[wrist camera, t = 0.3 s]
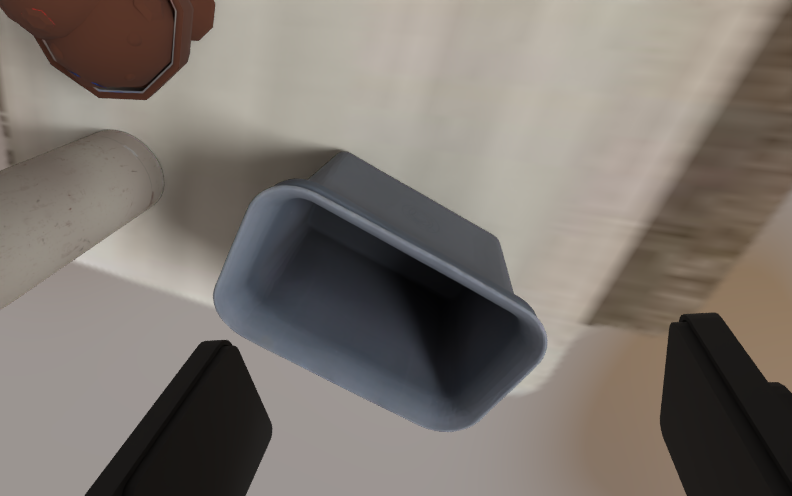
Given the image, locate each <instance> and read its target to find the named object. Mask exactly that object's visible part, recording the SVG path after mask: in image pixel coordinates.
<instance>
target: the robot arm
mask: <svg viewBox="0 0 792 496" xmlns="http://www.w3.org/2000/svg"><path fill="white" fill-rule="evenodd" d="M660 426H661V431H662V435H663V438H664V441H665V443H666V446H667V448H668V450H669V453H670V455H671V458H672V460H673V463H674V465H675V468H676V470H677V472H678V475H679V478H680V480H681V482H682V485H683V487H684V490H685V492H686V494H687V496H792V393H791V392H790V391H789V390H788V389H787V388H786V387H785V386H784V385H782V384H780V383H778V382H768V381H767V380H766V379H765V377H764V376H763V375H762V373H761V372H760V370H759V369H758V368H757V366H756V365H755V363H754V362H753V361H752V359H751V358H750V356H749V355H748V354H747V352H746V351H745V350H744V348H743V347H742V345H741V344H740V343H739V342H738V340H737V339H736V337H735V336H734V334H733V333H732V331H731V330H730V329H729V327H728V326H727V325H726V323H725V322H724V320H723V319H722V318H721V317H720V316H719V314H717V313H697V314H683V315H681V317H680V319H679V322H673V323H671V324H670V327H669V336H668V345H667V355H666V365H665V375H664V385H663V395H662V403H661V414H660ZM271 436H272V424H271V421H270V419H269V417H268V414H267V412H266V410H265V408H264V405H263V403H262V401H261V399H260V396H259V394H258V392H257V390H256V388H255V385H254V383H253V381H252V379H251V376H250V374H249V372H248V370H247V367H246V366H245V363H244V361H243V359H242V356H241V354H240V352H239V350H238V348H237V347H236V346H233V345H232V344H231V343H230V342H229V341H228V340H214V341H204V342H201V343H200V344H199V345H198V347H197V348H196V349H195V351H194V352H193V353H192V355H191V356H190V357H189V358H188V360H187V361H186V363H185V364H184V365H183V367H182V368H181V369H180V370H179V372H178V373H177V374H176V376H175V377H174V378H173V380H172V381H171V382H170V384H169V385H168V386H167V388H166V389H165V390H164V392H163V393H162V394H161V395H160V397H159V398H158V399H157V401H156V402H155V403H154V405H153V406H152V407H151V409H150V410H149V411H148V413H147V414H146V415H145V416H144V418H143V419H142V421H141V422H140V423H139V424H138V426H137V427H136V428H135V430H134V431H133V432H132V434H131V435H130V436H129V438H128V439H127V440H126V442H125V443H124V444H123V445H122V447H121V448H120V449H119V451H118V452H117V453H116V455H115V456H114V457H113V459H112V460H111V461H110V463H109V464H108V465H107V467H106V468H105V469H104V471H103V472H102V473H101V474H100V476H99V477H98V478H97V480H96V481H95V482H94V484H93V485H92V486H91V488H90V489H89V490H88V492H87V493H86V494H85V496H245V495H246V493H247V491H248V489H249V487H250V484H251V482H252V480H253V478H254V475H255V473H256V471H257V469H258V467H259V464H260V462H261V460H262V457H263V455H264V453H265V451H266V449H267V446H268V444H269V442H270V440H271Z"/></svg>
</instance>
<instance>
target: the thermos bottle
mask: <svg viewBox="0 0 792 496" xmlns="http://www.w3.org/2000/svg"><path fill="white" fill-rule="evenodd" d="M163 189H164V176H163V172H162V169H161V167H160V164H159V162H158V160H157V159H156V157H155V156H154V154H153V153H152V152H151V151H150V150H149V148H148V147H147V146H146V145H145V144H143V143H142V142H141V141H140V140H138V139H137V138H135V137H133V136H132V135H129V134H127V133H125V132H121V131H116V130H105V131H100V132H97V133H95V134H92V135H90V136H87V137H85V138H82V139H80V140H77V141H75V142H72V143H69V144H67V145H64V146H62V147H59V148H57V149H54V150H52V151H49V152H47V153H44V154H42V155H39V156H37V157H34V158H32V159H29V160H27V161H24V162H21V163H19V164H16V165H14V166H11V167H9V168H6V169H4V170H1V171H0V310H1V309H3V308H4V307H6V306H7V305H9V304H10V303H11V302H13V301H15V300H16V299H18V298H19V297H21V296H22V295H24V294H25V293H27V292H28V291H29V290H31V289H32V288H34V287H35V286H37V285H38V284H40V283H41V282H43V281H44V280H45V279H47V278H48V277H50V276H51V275H53V274H54V273H56V272H57V271H58V270H60V269H61V268H63V267H64V266H66V265H67V264H69V263H70V262H72V261H73V260H75V259H76V258H77V257H79V256H80V255H82V254H83V253H85V252H86V251H88V250H89V249H91V248H92V247H93V246H95V245H96V244H98V243H99V242H101V241H102V240H104V239H105V238H106V237H108V236H109V235H111V234H112V233H114V232H115V231H117V230H118V229H120V228H121V227H122V226H124V225H125V224H127V223H128V222H130V221H131V220H133V219H134V218H136V217H137V216H138V215H140V214H141V213H143V212H144V211H146V210H147V209H149V208H150V207H151V206H153V205H154V204H155V203H157V202H158V200H159V199H160V197H161V195H162V193H163Z"/></svg>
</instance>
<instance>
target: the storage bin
mask: <svg viewBox="0 0 792 496" xmlns="http://www.w3.org/2000/svg"><path fill="white" fill-rule="evenodd" d="M213 300H214V305H215V308H216V311H217V313H218V314H219V316H220V317H221V319H222V320H223V321H224V322H225V323H226V324H227V325H228V326H229V327H230V328H231V329H232V330H233V331H235V332H236V333H237V334H239V335H240V336H242V337H244V338H246V339H248V340H249V341H251V342H253V343H255V344H257V345H259V346H261V347H263V348H265V349H266V350H269V351H271V352H273V353H275V354H277V355H279V356H281V357H283V358H285V359H287V360H289V361H291V362H293V363H295V364H297V365H299V366H301V367H303V368H305V369H307V370H309V371H311V372H312V373H315V374H316V375H318V376H320V377H322V378H325V379H326V380H328V381H330V382H332V383H334V384H336V385H338V386H340V387H342V388H344V389H346V390H348V391H350V392H353V393H354V394H356V395H358V396H360V397H362V398H364V399H366V400H368V401H370V402H373V403H375V404H377V405H378V406H381V407H382V408H385V409H387V410H389V411H391V412H393V413H395V414H397V415H399V416H401V417H403V418H405V419H407V420H409V421H411V422H413V423H415V424H417V425H419V426H421V427H424V428H427V429H430V430H434V431H440V432H454V431H459V430H463V429H466V428H469V427H471V426H473V425H475V424H476V423H477V422H479V421H480V420H481V419H482V418H483V417H484V416H485V415H486V414H487V413H488V412H489V411H490V410H491V409H492V408H493V407H494V406H495V405H497V404H498V402H500V401H501V400H502V399H503V398H504V397H505V396H506V395H507V394H508V393H509V392H510V391H511V390H513V389H514V388H515V387H516V386H517V385H518V384H519V383H520V382H521V381H522V380H523V379H524V378H525V377H526V376H527V375H528V374H529V373H530V372H531V371H532V370H533V369H534V368H535V367H536V366H537V365H538V364H539V363H540V362H541V360H542V359H543V357H544V355H545V353H546V349H547V335H546V331H545V329H544V327H543V324H542V323H541V322H540V320H539V319H538V318H537V316H536V314H535V312H534V310H533V309H532V308H531V307H530V306H529V304H528V303H527V302H525V301H524V300H523V299H521V298H520V297H518V296H516V295H515V294H514V292H513V289H512V285H511V282H510V278H509V274H508V271H507V267H506V263H505V260H504V256H503V252H502V249H501V245H500V242H499V240H498V239H497V237H495V236H494V235H492V234H491V233H489V232H487V231H485V230H483V229H482V228H480V227H478V226H476V225H475V224H473V223H471V222H469V221H468V220H466V219H464V218H462V217H461V216H459V215H457V214H455V213H454V212H452V211H450V210H448V209H447V208H445V207H443V206H442V205H440V204H438V203H436V202H435V201H433V200H431V199H429V198H428V197H426V196H424V195H423V194H421V193H419V192H417V191H415V190H414V189H412V188H410V187H408V186H407V185H405V184H403V183H401V182H400V181H398V180H396V179H394V178H393V177H391V176H389V175H387V174H386V173H384V172H382V171H380V170H379V169H377V168H375V167H373V166H372V165H370V164H368V163H367V162H365V161H363V160H362V159H360V158H358V157H356V156H355V155H353V154H351V153H349V152H340V153H338V154H337V155H336V156H334V157H333V158H332V159H331V160H330V161H329V162H328V163H326V164H325V165H324V166H323V167H322V168H321V169H319V170H318V171H317V172H316V173H315V174H314V175H313V176H311V177H310V178H309V179H308V180H305V179H289V180H286V181H283V182H280V183H278V184H276V185H275V186H274V187H270V188H268V189H266V190H264V191H262V192H261V193H259V194H258V195H257V196H255V198H254V199H253V200H252V202H251V203H250V204H249V207H248V209H247V211H246V213H245V215H244V218H243V220H242V222H241V225H240V227H239V230H238V232H237V234H236V237H235V239H234V242H233V244H232V246H231V249H230V251H229V254H228V256H227V258H226V261H225V263H224V266H223V268H222V271H221V273H220V276H219V278H218V280H217V283H216V285H215V288H214V292H213Z"/></svg>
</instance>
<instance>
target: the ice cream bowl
mask: <svg viewBox="0 0 792 496" xmlns="http://www.w3.org/2000/svg"><path fill="white" fill-rule="evenodd" d="M0 7H1V8H2V10H3V11H4V12H5V14H6V15H7V16H8V17H9V18H10V19H12V20H13V21H15V22H16V23H18V24H19V25H20V26H22V27H23V28H24V29H26V30H27V31H28V32H29V33H31V34H32V35H33V36H34V37H35V39H36V41H37V42H38V44H39V46H40V47H41V49H42V50H43V52H44V54H45V55H46V57H47V59H48V60H49V62H50V64H51V65H52V66H54V67H55V68H57V69H58V70H60V71H61V72H62V73H64V74H65V75H67V76H68V77H70V78H71V79H72V80H74V81H75V82H77V83H78V84H80V85H81V86H83V87H84V88H85V89H87V90H88V91H90V92H91V93H93V94H94V95H95V96H97V97H98V98H112V99H135V100H147V99H148V98H149V97H151V96H152V95H153V94H154V93H156V92H157V91H158V90H159V89H160V88H161V87H162V86H163V85H164V84H165V83H166V82H167V81H168V80H169V79H171V78H172V77H173V76H174V75H175V74H176V73H177V72H178V71H179V70H180V69H181V68H182V67H183V66H184V65H185V64H186V63H187V62H188V58H189V55H190V44H191V41H199V40H200V39H201V38H202V37H203V36H204V35H205V34H206V33H207V32H208V31H209V30H210V29H211V28H213V20H214V11H215V2H214V0H0Z"/></svg>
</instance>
